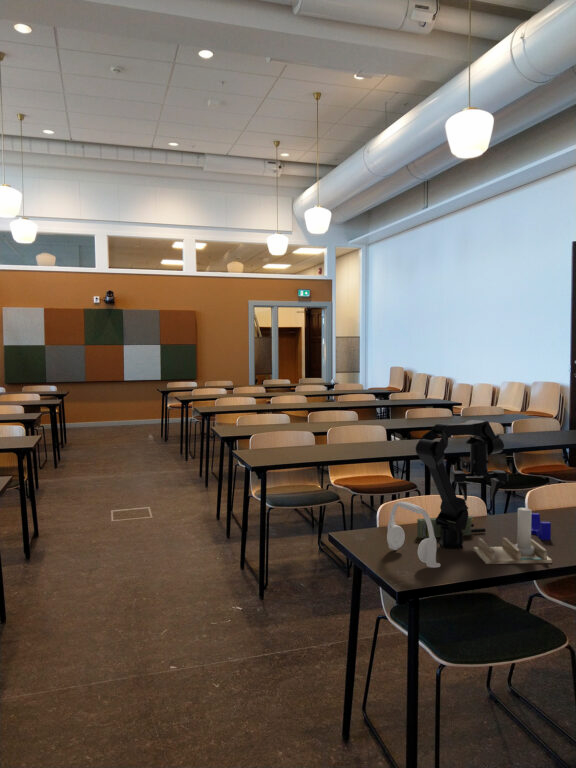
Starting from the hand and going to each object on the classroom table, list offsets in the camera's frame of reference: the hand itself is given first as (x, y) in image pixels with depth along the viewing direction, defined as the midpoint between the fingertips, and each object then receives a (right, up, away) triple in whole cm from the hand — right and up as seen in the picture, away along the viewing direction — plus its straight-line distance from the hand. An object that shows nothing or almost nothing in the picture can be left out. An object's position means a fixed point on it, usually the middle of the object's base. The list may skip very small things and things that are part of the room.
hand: (478, 500), depth 196 cm
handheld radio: (-8, -14, +3) cm, 16 cm away
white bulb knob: (+8, -13, -18) cm, 24 cm away
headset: (-28, -15, -19) cm, 37 cm away
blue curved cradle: (+22, -13, +3) cm, 25 cm away
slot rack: (+4, -14, -18) cm, 23 cm away
